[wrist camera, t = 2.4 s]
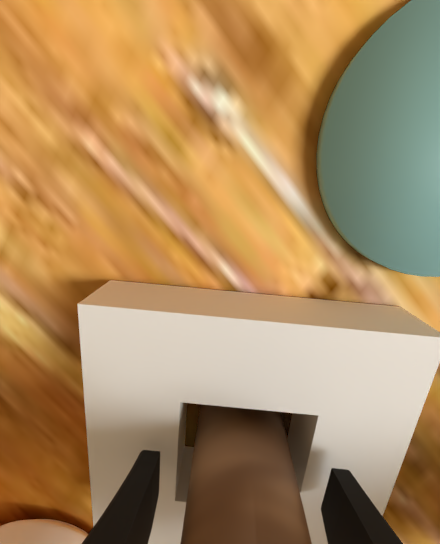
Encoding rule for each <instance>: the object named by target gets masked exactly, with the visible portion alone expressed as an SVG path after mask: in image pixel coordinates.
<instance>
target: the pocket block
mask: <svg viewBox="0 0 440 544" xmlns="http://www.w3.org/2000/svg"><path fill="white" fill-rule="evenodd" d="M77 306H78V320H79V334H80V347H81V361H82V375H83V389H84V403H85V416H86V430H87V444H88V458H89V472H90V485H91V499H92V513H93V527H94V526H95V524H96V523H97V521H98V520H99V519H100V517H101V516H102V514H103V513H104V511H105V510H106V508H107V507H108V505H109V504H110V502H111V501H112V499H113V498H114V496H115V495H116V493H117V491H118V490H119V488H120V487H121V485H122V483H123V482H124V480H125V479H126V477H127V475H128V473H129V472H130V470H131V468H132V467H133V465H134V463H135V461H136V459H137V458H138V456H139V454H140V452H141V451H143V450H151V451H160V479H159V496H158V501H157V506H156V511H155V516H154V520H153V525H152V530H151V534H150V537H149V541H148V544H181V537H182V530H183V522H184V515H185V508H186V501H187V494H188V487H189V480H190V473H191V465H192V458H193V451H194V447H188V446H185V433H186V417H187V403H193V404H203V405H214V406H224V407H235V408H245V409H256V410H266V411H276V412H287V413H292V417H291V422H290V427H289V432H288V437H287V440H288V445H289V449H290V453H291V457H292V462H293V466H294V470H295V474H296V479H297V483H298V487H299V491H300V496H301V500H302V504H303V508H304V513H305V517H306V521H307V525H308V530H309V534H310V538H311V542H312V544H328V541H327V537H326V532H325V528H324V523H323V518H322V513H321V505H322V502H323V498H324V494H325V491H326V487H327V483H328V480H329V476H330V472H331V469H332V468H336V469H347V470H349V471H350V472H351V473H352V475H353V476H354V477H355V479H356V480H357V482H358V483H359V484H360V486H361V487H362V489H363V490H364V491H365V493H366V494H367V496H368V497H369V498H370V500H371V501H372V503H373V504H374V505H375V507H376V508H377V509H378V511H379V512H380V514H381V515H382V516H383V514H384V511H385V509H386V506H387V503H388V500H389V498H390V495H391V492H392V490H393V487H394V484H395V481H396V479H397V476H398V473H399V471H400V468H401V465H402V463H403V460H404V457H405V454H406V452H407V449H408V446H409V444H410V441H411V438H412V435H413V433H414V430H415V427H416V425H417V422H418V419H419V416H420V414H421V411H422V408H423V406H424V403H425V400H426V398H427V395H428V392H429V389H430V387H431V384H432V381H433V379H434V376H435V373H436V370H437V368H438V365H439V362H440V332H438V331H437V330H435V329H434V328H432V327H431V326H429V325H428V324H426V323H424V322H423V321H421V320H420V319H418V318H417V317H415V316H414V315H412V314H411V313H409V312H408V311H406V310H405V309H403V308H402V307H399V306H388V305H377V304H366V303H355V302H344V301H333V300H323V299H312V298H301V297H290V296H279V295H268V294H257V293H246V292H235V291H224V290H213V289H203V288H192V287H181V286H170V285H159V284H148V283H137V282H126V281H115V280H110V281H108V282H107V283H106V284H104V285H103V286H101V287H100V288H99V289H97V290H96V291H95V292H93V293H92V294H90V295H89V296H88V297H86V298H85V299H83V300H82V301H81V302H79V303H78V304H77Z"/></svg>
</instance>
